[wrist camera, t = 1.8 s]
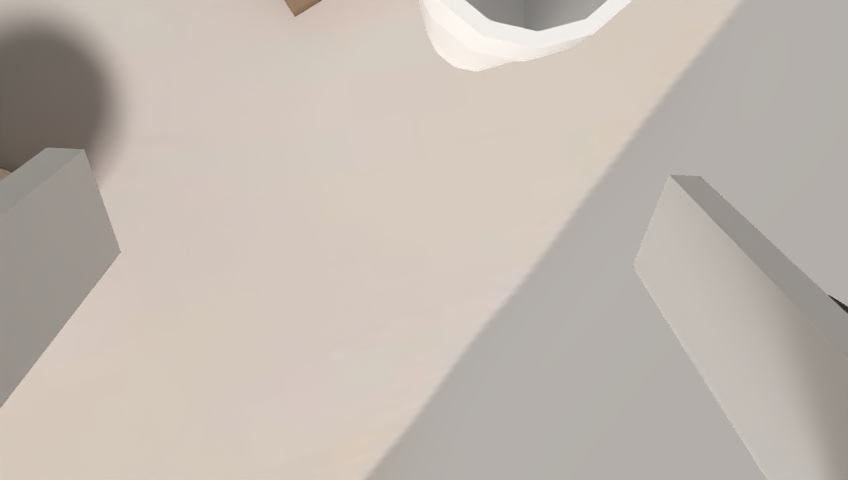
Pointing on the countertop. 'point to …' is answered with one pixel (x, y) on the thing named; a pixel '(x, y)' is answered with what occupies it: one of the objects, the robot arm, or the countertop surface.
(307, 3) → the square wooden frame
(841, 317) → the robot arm
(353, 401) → the countertop surface
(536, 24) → the foam cup
